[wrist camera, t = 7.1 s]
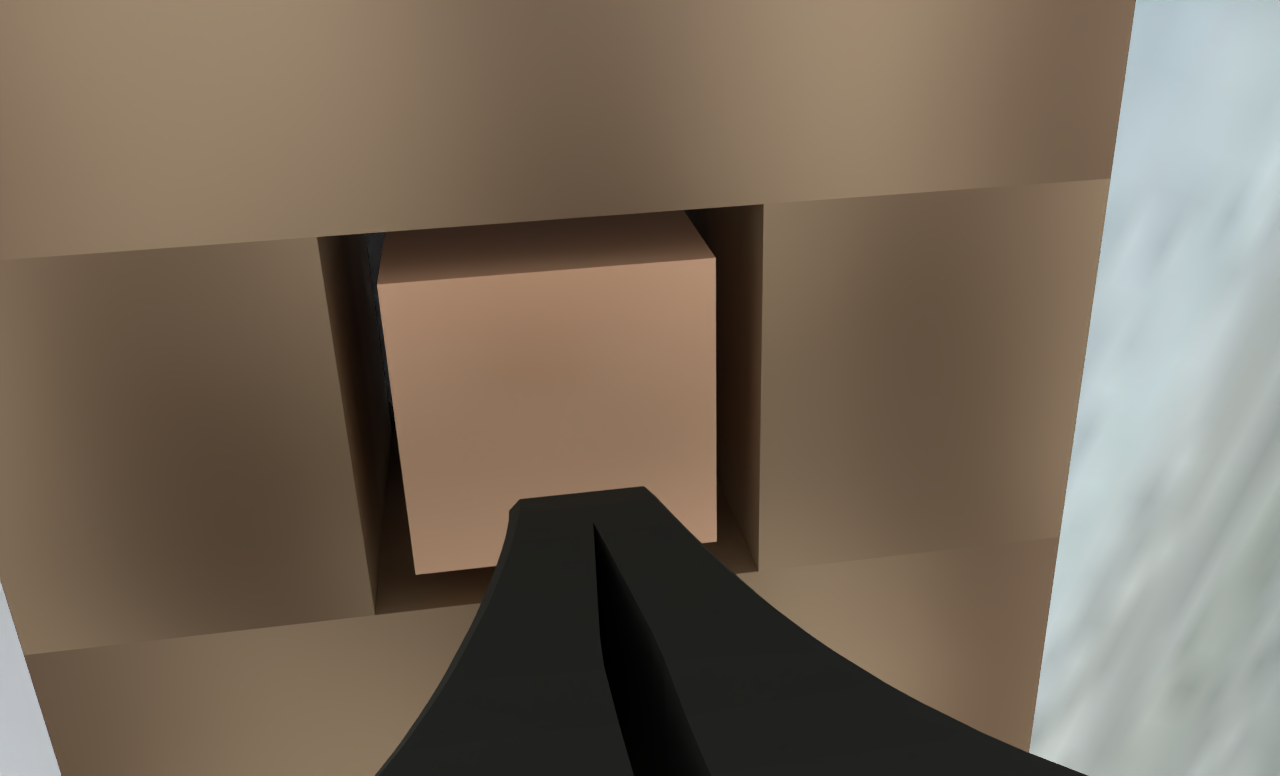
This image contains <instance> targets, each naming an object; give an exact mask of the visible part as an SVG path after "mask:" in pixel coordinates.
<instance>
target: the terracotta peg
mask: <svg viewBox="0 0 1280 776" xmlns="http://www.w3.org/2000/svg"><path fill="white" fill-rule="evenodd" d="M377 289H378V297H379V304H380V312H381V319H382V327H383V334H384V342H385V349H386V357H387V364H388V372H389V379H390V387H391V394H392V402H393V409H394V417H395V424H396V432H397V439H398V447H399V454H400V461H401V469H402V476H403V484H404V491H405V499H406V506H407V514H408V521H409V529H410V536H411V544H412V551H413V559H414V566H415V574H416V575H418V574H428V573H437V572H446V571H455V570H464V569H473V568H482V567H491V566H496V565H497V562H498V559H499V556H500V553H501V550H502V547H503V544H504V540H505V536H506V532H507V527H508V521H509V510H510V509H511V508H512V507H513V506H514V505H515V504H516V503H517V501H518V500H519V499H525V498H534V497H544V496H553V495H563V494H572V493H582V492H591V491H601V490H610V489H620V488H630V487H639V486H645V487H646V488H647V489H648V490H649V491H650V492H652V493H653V494H654V495H655V496H656V497H657V498H658V499H659V500H660V501H661V502H662V503H663V504H664V505H665V507H666V508H667V509H668V510H669V511H670V512H671V513H672V514H673V515H674V516H675V517H676V518H677V519H678V520H679V521H680V522H681V523H682V524H683V525H684V526H685V527H686V528H687V529H688V530H689V531H690V532H691V533H692V534H693V535H694V536H695V537H696V538H697V539H698V540H699V541H700V542H701V543H708V542H717V483H716V257H715V256H714V255H713V253H712V252H711V250H710V249H709V247H708V246H707V244H706V243H705V241H704V240H703V238H702V237H701V235H700V234H699V232H698V231H697V229H696V228H695V227H694V225H693V224H692V222H691V221H690V219H689V218H688V216H687V215H686V213H685V212H684V210H676V211H663V212H649V213H636V214H622V215H608V216H595V217H581V218H568V219H554V220H540V221H527V222H513V223H500V224H486V225H472V226H459V227H445V228H432V229H418V230H404V231H391V232H385V236H384V242H383V249H382V255H381V261H380V268H379V274H378V281H377Z"/></svg>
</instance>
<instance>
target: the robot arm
mask: <svg viewBox="0 0 1280 776" xmlns="http://www.w3.org/2000/svg"><path fill="white" fill-rule="evenodd" d="M375 776H1087V775H1085V774H1082V773H1079V772H1077V771H1074V770H1072V769H1069V768H1067V767H1064V766H1061V765H1059V764H1056V763H1054V762H1051V761H1048V760H1046V759H1043V758H1041V757H1038V756H1036V755H1033V754H1030V753H1028V752H1026V751H1023V750H1021V749H1019V748H1017V747H1014V746H1012V745H1010V744H1007V743H1005V742H1003V741H1000V740H998V739H996V738H994V737H991V736H989V735H987V734H984V733H982V732H980V731H978V730H976V729H974V728H972V727H970V726H968V725H966V724H964V723H962V722H960V721H958V720H956V719H954V718H952V717H950V716H948V715H946V714H944V713H942V712H940V711H938V710H936V709H934V708H932V707H930V706H928V705H926V704H923V703H921V702H920V701H918V700H916V699H914V698H912V697H910V696H909V695H907V694H905V693H903V692H901V691H899V690H898V689H896V688H894V687H892V686H890V685H889V684H887V683H885V682H884V681H882V680H880V679H879V678H877V677H875V676H874V675H872V674H871V673H869V672H867V671H866V670H864V669H862V668H861V667H859V666H858V665H856V664H854V663H853V662H851V661H849V660H848V659H846V658H845V657H843V656H841V655H840V654H838V653H837V652H835V651H833V650H832V649H830V648H829V647H828V646H826V645H825V644H823V643H822V642H820V641H819V640H817V639H816V638H814V637H813V636H811V635H810V634H809V633H807V632H806V631H805V630H803V629H802V628H801V627H799V626H798V625H797V624H795V623H794V622H793V621H791V620H790V619H789V618H787V617H786V616H785V615H783V614H782V613H781V612H779V611H778V610H777V609H775V608H774V607H773V606H772V605H771V604H769V603H768V602H767V601H766V600H765V599H763V598H762V597H761V596H760V595H758V594H757V593H756V592H755V591H754V590H753V589H752V588H750V587H749V586H748V585H747V584H746V583H745V582H744V581H742V580H741V579H740V578H739V577H738V576H737V575H736V574H735V573H733V572H732V571H731V570H730V569H729V568H728V567H727V566H725V565H724V564H723V563H722V562H721V561H720V560H719V559H718V558H717V557H716V556H715V555H714V554H712V553H711V552H710V551H709V550H708V549H707V548H706V547H705V546H704V545H703V544H702V543H701V542H700V541H699V540H698V539H697V538H696V537H695V536H694V535H693V534H692V533H691V532H690V531H689V530H688V529H687V528H686V527H685V526H684V525H683V524H682V523H681V522H680V521H679V520H678V519H677V518H676V517H675V516H674V515H673V514H672V513H671V512H670V511H669V510H668V509H667V508H666V507H665V505H664V504H663V503H662V502H661V501H660V500H659V499H658V498H657V497H656V496H655V495H654V494H653V493H652V492H650V491H649V490H648V489H647V488H646V487H645V486H639V487H630V488H620V489H610V490H601V491H591V492H582V493H572V494H563V495H553V496H544V497H534V498H525V499H519V500H518V501H517V503H516V504H515V505H514V506H513V507H512V508H511V509H510V510H509V521H508V527H507V532H506V536H505V540H504V544H503V547H502V550H501V553H500V556H499V559H498V562H497V565H496V568H495V571H494V574H493V576H492V578H491V581H490V583H489V585H488V588H487V590H486V592H485V595H484V597H483V599H482V602H481V604H480V607H479V609H478V611H477V614H476V616H475V618H474V620H473V622H472V624H471V626H470V628H469V630H468V632H467V634H466V636H465V637H464V639H463V641H462V643H461V645H460V647H459V649H458V651H457V652H456V654H455V656H454V658H453V660H452V662H451V664H450V665H449V667H448V669H447V671H446V673H445V675H444V676H443V678H442V680H441V682H440V683H439V685H438V686H437V688H436V690H435V691H434V693H433V695H432V696H431V698H430V699H429V701H428V703H427V704H426V706H425V707H424V709H423V710H422V712H421V713H420V715H419V716H418V718H417V719H416V721H415V722H414V724H413V725H412V726H411V728H410V729H409V731H408V732H407V734H406V735H405V737H404V738H403V739H402V741H401V742H400V744H399V745H398V746H397V748H396V749H395V750H394V752H393V753H392V754H391V756H390V757H389V758H388V759H387V761H386V762H385V763H384V764H383V766H382V767H381V768H380V770H379V771H378V772H377V773H376V775H375Z"/></svg>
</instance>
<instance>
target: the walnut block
mask: <svg viewBox="0 0 1280 776" xmlns="http://www.w3.org/2000/svg"><path fill="white" fill-rule="evenodd" d="M1135 2H1136V0H0V580H1V584H2V587H3V590H4V593H5V596H6V600H7V603H8V606H9V609H10V612H11V616H12V619H13V622H14V625H15V628H16V631H17V635H18V638H19V641H20V644H21V647H22V651H23V654H24V657H25V660H26V663H27V667H28V670H29V673H30V676H31V679H32V682H33V686H34V689H35V692H36V695H37V698H38V702H39V705H40V708H41V711H42V714H43V718H44V721H45V724H46V727H47V730H48V733H49V737H50V740H51V743H52V746H53V749H54V753H55V756H56V759H57V762H58V765H59V769H60V772H61V775H62V776H375V775H376V773H377V772H378V771H379V770H380V768H381V767H382V766H383V764H384V763H385V762H386V761H387V759H388V758H389V757H390V756H391V754H392V753H393V752H394V750H395V749H396V748H397V746H398V745H399V744H400V742H401V741H402V739H403V738H404V737H405V735H406V734H407V732H408V731H409V729H410V728H411V726H412V725H413V724H414V722H415V721H416V719H417V718H418V716H419V715H420V713H421V712H422V710H423V709H424V707H425V706H426V704H427V703H428V701H429V699H430V698H431V696H432V695H433V693H434V691H435V690H436V688H437V686H438V685H439V683H440V682H441V680H442V678H443V676H444V675H445V673H446V671H447V669H448V667H449V665H450V664H451V662H452V660H453V658H454V656H455V654H456V652H457V651H458V649H459V647H460V645H461V643H462V641H463V639H464V637H465V636H466V634H467V632H468V630H469V628H470V626H471V624H472V622H473V620H474V618H475V616H476V614H477V611H478V609H479V607H480V604H481V602H482V599H483V597H484V595H485V592H486V590H487V588H488V585H489V583H490V581H491V578H492V576H493V574H494V571H495V568H496V566H491V567H482V568H473V569H464V570H455V571H446V572H437V573H428V574H418V575H416V574H415V566H414V559H413V551H412V544H411V536H410V529H409V521H408V514H407V506H406V499H405V491H404V484H403V476H402V469H401V461H400V454H399V447H398V439H397V432H396V430H392V429H391V421H390V414H389V406H388V399H387V392H386V384H385V377H384V370H383V362H382V355H381V347H380V340H379V333H378V325H377V318H376V310H375V303H374V296H373V288H372V281H371V274H370V266H369V259H368V251H367V244H366V237H365V233H377V232H391V231H404V230H418V229H432V228H445V227H459V226H472V225H486V224H500V223H513V222H527V221H540V220H554V219H568V218H581V217H595V216H608V215H622V214H636V213H649V212H663V211H676V210H684V212H685V213H686V215H687V216H688V218H689V219H690V221H691V222H692V224H693V225H694V227H695V228H696V229H697V231H698V232H699V234H700V235H701V237H702V238H703V240H704V241H705V243H706V244H707V246H708V247H709V249H710V250H711V252H712V253H713V255H714V256H715V257H716V483H717V542H708V543H702V544H703V545H704V546H705V547H706V548H707V549H708V550H709V551H710V552H711V553H712V554H714V555H715V556H716V557H717V558H718V559H719V560H720V561H721V562H722V563H723V564H724V565H725V566H727V567H728V568H729V569H730V570H731V571H732V572H733V573H735V574H736V575H737V576H738V577H739V578H740V579H741V580H742V581H744V582H745V583H746V584H747V585H748V586H749V587H750V588H752V589H753V590H754V591H755V592H756V593H757V594H758V595H760V596H761V597H762V598H763V599H765V600H766V601H767V602H768V603H769V604H771V605H772V606H773V607H774V608H775V609H777V610H778V611H779V612H781V613H782V614H783V615H785V616H786V617H787V618H789V619H790V620H791V621H793V622H794V623H795V624H797V625H798V626H799V627H801V628H802V629H803V630H805V631H806V632H807V633H809V634H810V635H811V636H813V637H814V638H816V639H817V640H819V641H820V642H822V643H823V644H825V645H826V646H828V647H829V648H830V649H832V650H833V651H835V652H837V653H838V654H840V655H841V656H843V657H845V658H846V659H848V660H849V661H851V662H853V663H854V664H856V665H858V666H859V667H861V668H862V669H864V670H866V671H867V672H869V673H871V674H872V675H874V676H875V677H877V678H879V679H880V680H882V681H884V682H885V683H887V684H889V685H890V686H892V687H894V688H896V689H898V690H899V691H901V692H903V693H905V694H907V695H909V696H910V697H912V698H914V699H916V700H918V701H920V702H921V703H923V704H926V705H928V706H930V707H932V708H934V709H936V710H938V711H940V712H942V713H944V714H946V715H948V716H950V717H952V718H954V719H956V720H958V721H960V722H962V723H964V724H966V725H968V726H970V727H972V728H974V729H976V730H978V731H980V732H982V733H984V734H987V735H989V736H991V737H994V738H996V739H998V740H1000V741H1003V742H1005V743H1007V744H1010V745H1012V746H1014V747H1017V748H1019V749H1021V750H1023V751H1026V752H1028V753H1029V748H1030V741H1031V734H1032V727H1033V720H1034V713H1035V706H1036V699H1037V692H1038V684H1039V677H1040V670H1041V663H1042V656H1043V649H1044V642H1045V635H1046V628H1047V621H1048V614H1049V607H1050V600H1051V593H1052V586H1053V579H1054V572H1055V565H1056V558H1057V551H1058V544H1059V537H1060V530H1061V523H1062V516H1063V509H1064V502H1065V495H1066V488H1067V481H1068V474H1069V466H1070V459H1071V452H1072V445H1073V438H1074V431H1075V424H1076V417H1077V410H1078V403H1079V396H1080V389H1081V382H1082V375H1083V368H1084V361H1085V354H1086V347H1087V340H1088V333H1089V326H1090V319H1091V312H1092V305H1093V298H1094V291H1095V284H1096V277H1097V270H1098V263H1099V256H1100V249H1101V241H1102V234H1103V227H1104V220H1105V213H1106V206H1107V199H1108V192H1109V185H1110V178H1111V171H1112V164H1113V157H1114V150H1115V143H1116V136H1117V129H1118V122H1119V115H1120V108H1121V101H1122V94H1123V87H1124V80H1125V73H1126V66H1127V59H1128V52H1129V45H1130V38H1131V31H1132V23H1133V16H1134V9H1135Z"/></svg>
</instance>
